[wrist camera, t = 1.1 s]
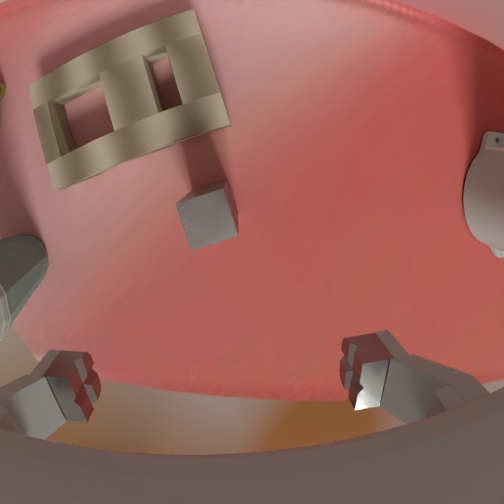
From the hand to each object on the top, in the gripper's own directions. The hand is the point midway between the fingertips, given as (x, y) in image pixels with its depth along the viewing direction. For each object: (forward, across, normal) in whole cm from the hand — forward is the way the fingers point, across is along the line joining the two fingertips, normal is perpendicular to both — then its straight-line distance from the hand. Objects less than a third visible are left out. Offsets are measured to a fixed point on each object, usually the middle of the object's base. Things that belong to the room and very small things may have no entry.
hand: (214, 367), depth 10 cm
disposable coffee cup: (+28, +26, +4) cm, 39 cm away
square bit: (+27, +1, -1) cm, 27 cm away
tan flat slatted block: (+27, +10, -14) cm, 32 cm away
